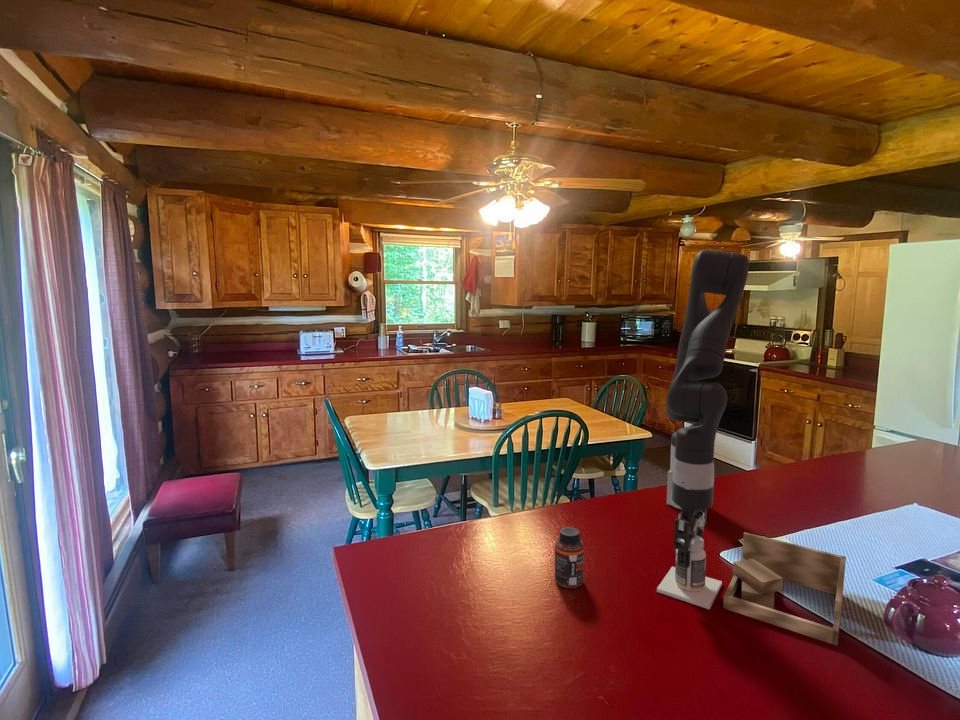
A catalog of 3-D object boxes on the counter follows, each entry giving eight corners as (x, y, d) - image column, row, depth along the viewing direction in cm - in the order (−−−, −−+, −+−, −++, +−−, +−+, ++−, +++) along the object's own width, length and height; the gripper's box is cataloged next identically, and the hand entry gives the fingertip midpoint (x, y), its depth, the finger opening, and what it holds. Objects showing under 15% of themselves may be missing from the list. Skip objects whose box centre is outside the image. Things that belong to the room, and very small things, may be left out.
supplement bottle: (581, 592, 105) (581, 540, 103) (552, 587, 107) (552, 535, 105) (585, 577, 110) (586, 527, 109) (558, 572, 113) (558, 523, 111)
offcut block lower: (741, 604, 101) (741, 590, 100) (741, 581, 109) (742, 567, 108) (773, 612, 98) (774, 597, 98) (771, 587, 106) (772, 573, 106)
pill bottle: (703, 579, 107) (705, 534, 106) (706, 595, 102) (708, 547, 101) (674, 574, 109) (675, 530, 108) (675, 590, 104) (676, 543, 102)
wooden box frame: (723, 608, 99) (725, 569, 98) (742, 566, 113) (744, 532, 112) (837, 645, 88) (841, 602, 87) (842, 594, 103) (846, 556, 101)
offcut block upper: (761, 594, 99) (762, 582, 99) (732, 573, 106) (733, 562, 106) (782, 590, 100) (782, 578, 100) (752, 569, 107) (752, 558, 107)
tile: (656, 591, 105) (656, 588, 105) (672, 569, 113) (672, 566, 112) (709, 609, 99) (709, 605, 99) (721, 585, 107) (722, 581, 106)
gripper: (684, 466, 110) (681, 537, 113) (661, 488, 99) (659, 566, 102) (722, 473, 106) (718, 547, 108) (703, 497, 95) (699, 579, 97)
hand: (689, 556), depth 105 cm, fingers open, 8 cm apart
